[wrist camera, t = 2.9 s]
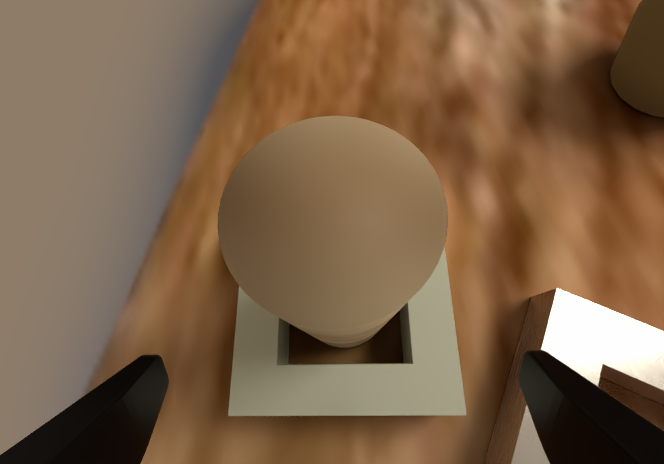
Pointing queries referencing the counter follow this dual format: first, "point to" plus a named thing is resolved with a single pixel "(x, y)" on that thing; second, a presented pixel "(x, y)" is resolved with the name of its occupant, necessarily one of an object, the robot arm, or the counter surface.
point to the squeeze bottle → (642, 60)
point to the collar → (351, 366)
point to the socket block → (575, 364)
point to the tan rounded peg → (333, 226)
